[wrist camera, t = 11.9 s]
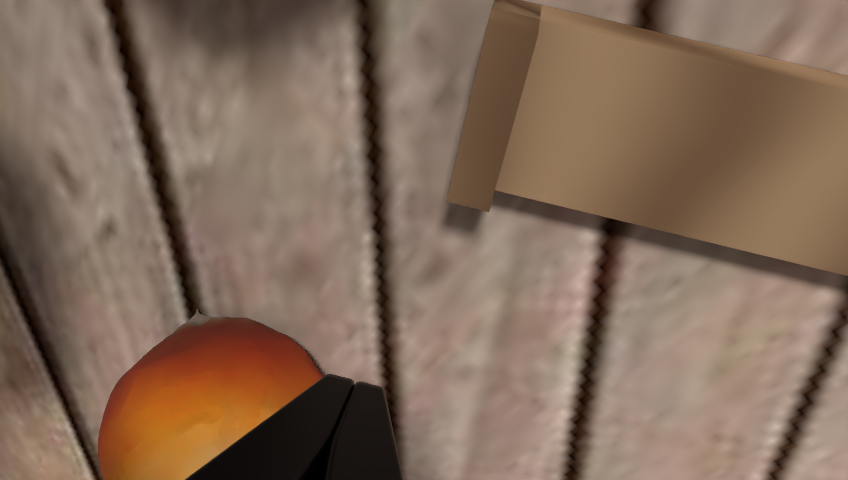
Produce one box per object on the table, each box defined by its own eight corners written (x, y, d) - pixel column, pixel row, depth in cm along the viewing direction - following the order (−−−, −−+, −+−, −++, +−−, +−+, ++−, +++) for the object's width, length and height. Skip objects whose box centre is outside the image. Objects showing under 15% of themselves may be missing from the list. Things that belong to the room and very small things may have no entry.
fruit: (111, 257, 24) (121, 472, 19) (326, 271, 28) (382, 450, 23) (80, 394, 28) (82, 596, 23) (268, 388, 33) (304, 559, 27)
